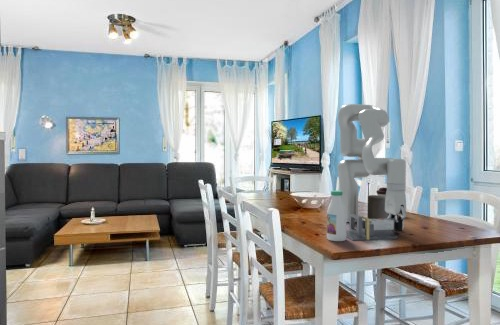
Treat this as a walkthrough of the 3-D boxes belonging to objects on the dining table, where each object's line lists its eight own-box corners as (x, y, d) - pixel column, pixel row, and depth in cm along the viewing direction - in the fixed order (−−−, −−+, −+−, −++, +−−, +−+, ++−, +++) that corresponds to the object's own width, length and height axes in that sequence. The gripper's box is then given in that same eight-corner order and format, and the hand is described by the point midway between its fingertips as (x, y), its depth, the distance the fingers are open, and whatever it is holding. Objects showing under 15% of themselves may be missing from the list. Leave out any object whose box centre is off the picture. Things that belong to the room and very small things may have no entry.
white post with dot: (368, 228, 158) (368, 218, 158) (398, 227, 160) (398, 217, 160) (372, 230, 154) (372, 220, 154) (403, 229, 156) (403, 219, 156)
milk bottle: (343, 237, 155) (343, 189, 154) (348, 241, 147) (348, 191, 146) (324, 237, 155) (325, 190, 154) (329, 242, 147) (329, 192, 146)
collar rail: (341, 233, 161) (341, 212, 161) (383, 232, 164) (383, 211, 163) (352, 240, 149) (352, 218, 149) (397, 238, 152) (398, 216, 151)
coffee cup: (372, 213, 212) (372, 187, 211) (385, 212, 216) (385, 186, 216) (385, 216, 203) (385, 189, 202) (398, 215, 207) (399, 188, 207)
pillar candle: (365, 224, 181) (366, 194, 181) (369, 220, 190) (369, 192, 189) (386, 226, 177) (387, 195, 176) (389, 222, 186) (389, 193, 185)
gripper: (378, 185, 165) (378, 226, 166) (398, 189, 149) (397, 234, 149) (394, 185, 166) (393, 225, 167) (415, 189, 150) (415, 234, 150)
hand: (395, 229), depth 158 cm, fingers closed on white post with dot, 4 cm apart
